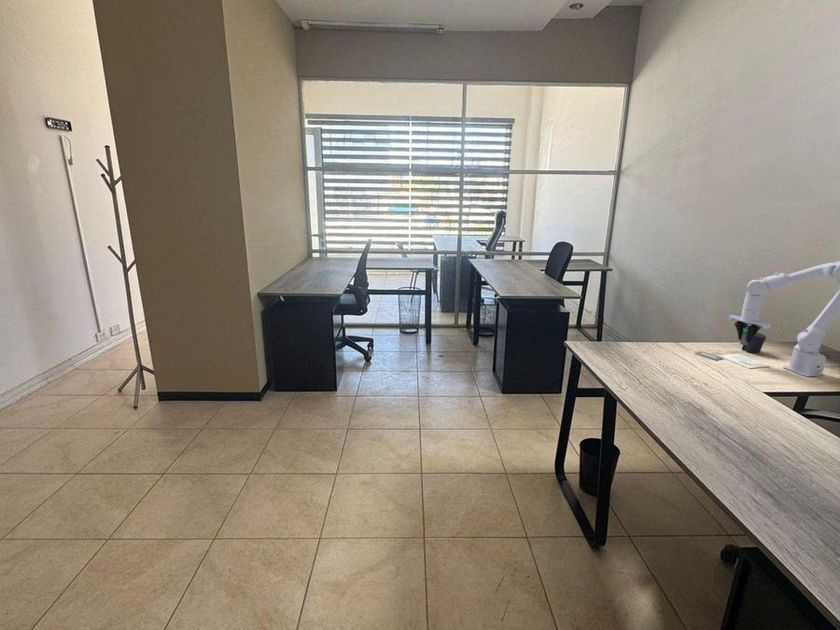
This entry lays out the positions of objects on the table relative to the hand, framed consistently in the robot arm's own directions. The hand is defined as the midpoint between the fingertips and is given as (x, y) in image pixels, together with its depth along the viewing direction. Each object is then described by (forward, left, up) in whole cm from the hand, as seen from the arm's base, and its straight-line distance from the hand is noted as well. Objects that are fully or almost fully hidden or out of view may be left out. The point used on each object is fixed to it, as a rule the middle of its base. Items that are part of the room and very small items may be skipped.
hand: (744, 340), depth 174 cm
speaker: (+8, -15, -9) cm, 19 cm away
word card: (+7, +9, -9) cm, 14 cm away
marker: (0, 0, -2) cm, 2 cm away
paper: (-1, 0, -9) cm, 9 cm away
